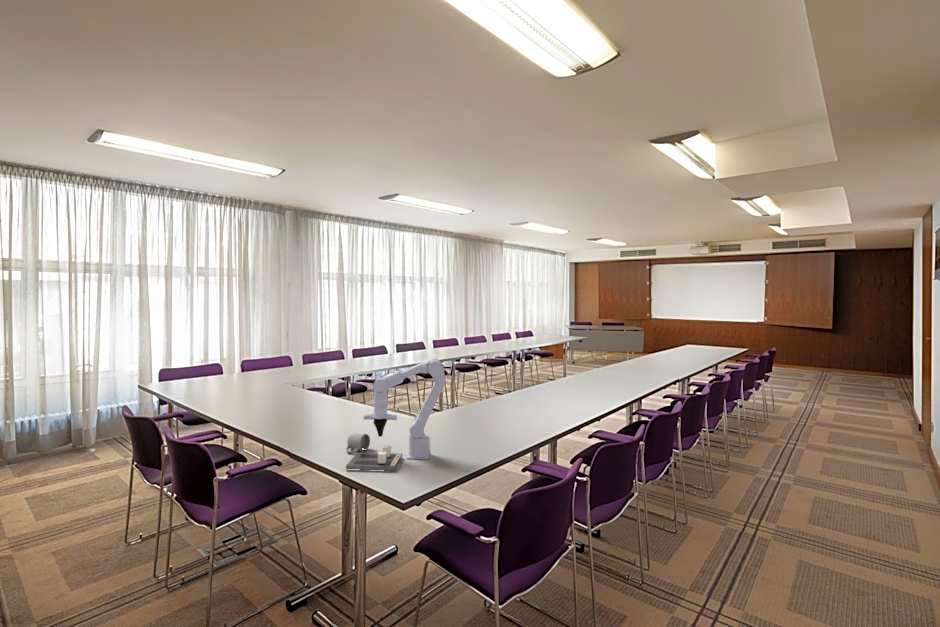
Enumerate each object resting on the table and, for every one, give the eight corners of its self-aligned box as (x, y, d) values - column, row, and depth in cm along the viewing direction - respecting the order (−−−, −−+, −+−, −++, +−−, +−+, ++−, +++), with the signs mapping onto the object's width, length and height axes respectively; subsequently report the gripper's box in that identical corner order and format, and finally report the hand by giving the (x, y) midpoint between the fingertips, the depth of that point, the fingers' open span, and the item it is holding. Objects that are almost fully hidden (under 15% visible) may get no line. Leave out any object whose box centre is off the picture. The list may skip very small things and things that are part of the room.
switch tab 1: (386, 460, 194) (386, 451, 193) (385, 463, 191) (385, 454, 190) (379, 460, 194) (379, 451, 194) (377, 463, 191) (377, 454, 191)
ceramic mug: (355, 446, 220) (355, 430, 220) (370, 448, 217) (370, 432, 217) (341, 453, 211) (341, 436, 210) (356, 455, 207) (356, 438, 207)
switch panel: (402, 458, 204) (402, 453, 204) (394, 471, 188) (394, 466, 188) (357, 457, 205) (357, 452, 205) (345, 470, 189) (345, 465, 189)
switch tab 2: (391, 454, 202) (391, 445, 201) (389, 456, 199) (389, 448, 198) (384, 454, 202) (384, 445, 202) (382, 456, 199) (382, 447, 199)
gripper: (361, 407, 201) (361, 438, 202) (394, 407, 200) (394, 438, 201) (366, 403, 208) (366, 433, 209) (398, 404, 207) (398, 434, 208)
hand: (380, 435), depth 205 cm, fingers closed
